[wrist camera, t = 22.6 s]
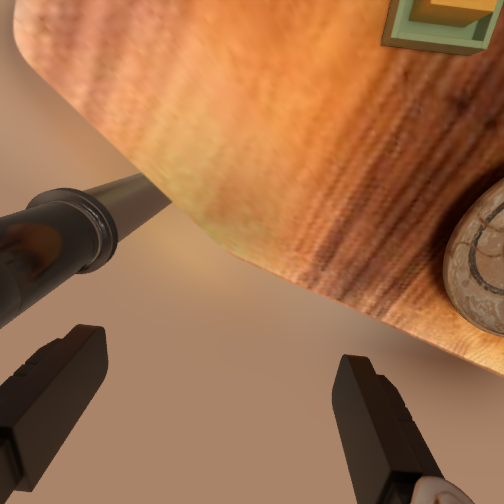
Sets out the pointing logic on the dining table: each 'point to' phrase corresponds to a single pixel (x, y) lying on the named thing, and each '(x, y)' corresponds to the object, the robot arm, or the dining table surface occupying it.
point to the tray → (437, 32)
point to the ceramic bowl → (478, 262)
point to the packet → (451, 11)
